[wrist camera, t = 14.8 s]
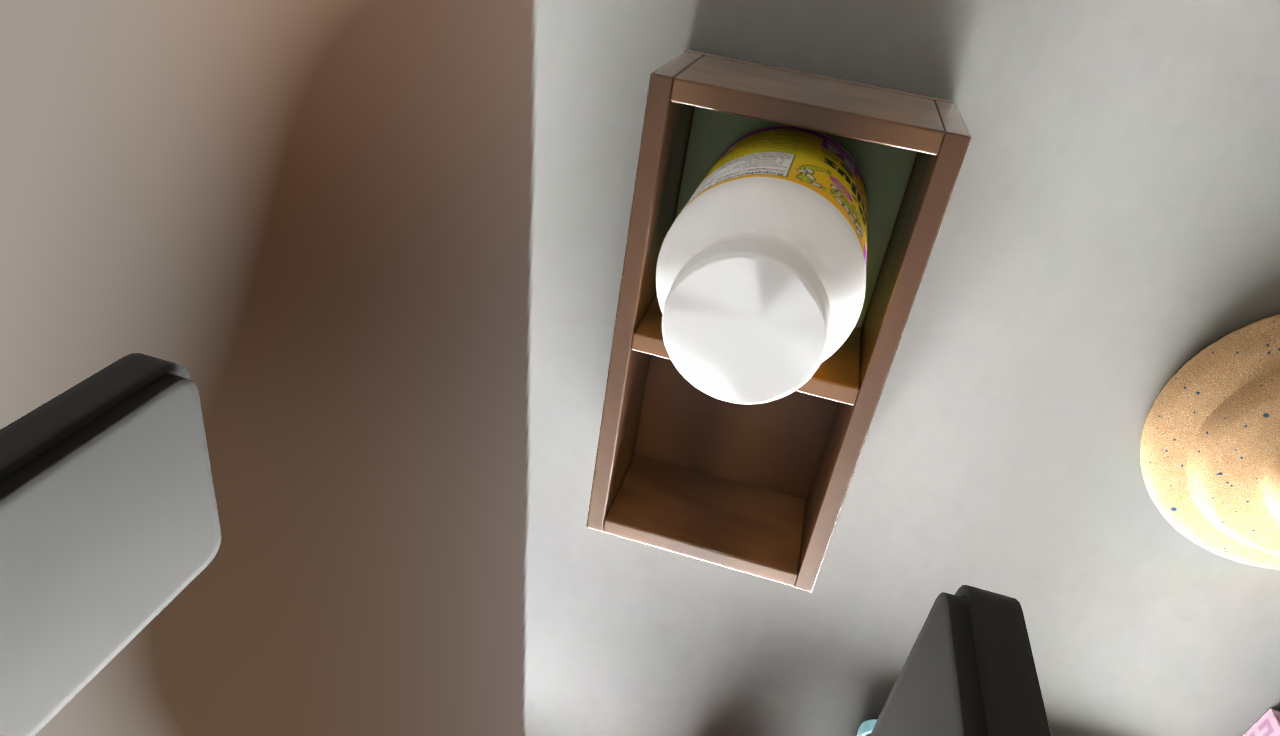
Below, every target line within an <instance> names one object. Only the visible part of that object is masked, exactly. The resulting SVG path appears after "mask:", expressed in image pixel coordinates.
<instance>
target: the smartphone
mask: <svg viewBox="0 0 1280 736" xmlns="http://www.w3.org/2000/svg"><path fill="white" fill-rule="evenodd" d="M877 720H878V719H873V720H867V721H865V722H863V723H862V724H861V725H860V727H859V729H858V733H857V736H870V734H871V732H872V730H873V728H874V726H875V724H876V722H877Z"/></svg>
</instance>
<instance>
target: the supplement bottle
mask: <svg viewBox="0 0 1280 736" xmlns="http://www.w3.org/2000/svg"><path fill="white" fill-rule="evenodd" d="M867 236H868V199H867V190H866V185H865V182H864V178H863V176H862V173H861V171H860V169H859V167H858V165H857V163H856V162H855V160H854V159H853V157H852V156H851V155H850V153H849V152H848V151H847V150H846V149H845V148H844V147H843V146H842V145H841V144H840V143H838V142H837V141H836V140H834V139H833V138H831V137H830V136H828V135H826V134H824V133H822V132H818V131H814V130H809V129H804V128H799V127H794V126H789V125H784V124H780V125H772V126H768V127H764V128H761V129H758V130H755V131H753V132H750V133H748V134H746V135H745V136H743V137H741V138H740V139H738V140H737V141H735V142H734V143H733V144H732V145H731V146H730V147H728V148H727V149H726V150H725V151H724V152H723V154H722V155H721V156H720V157H719V158H718V159H717V161H716V162H715V163H714V165H713V166H712V168H711V169H710V171H709V172H708V173H707V175H706V176H705V178H704V179H703V181H702V182H701V184H700V185H699V187H698V188H697V189H696V191H695V193H694V194H693V195H692V197H691V198H690V200H689V201H688V203H687V204H686V206H685V207H684V208H683V210H682V211H681V213H680V214H679V215H678V217H677V218H676V220H675V221H674V223H673V224H672V226H671V228H670V229H669V231H668V233H667V235H666V237H665V239H664V241H663V243H662V246H661V249H660V252H659V256H658V261H657V266H656V291H657V297H658V302H659V305H660V309H661V312H662V335H663V340H664V345H665V347H666V350H667V352H668V355H669V357H670V359H671V361H672V362H673V364H674V365H675V367H676V369H677V370H678V371H679V372H680V373H681V375H682V376H683V377H684V378H685V379H686V380H687V381H689V382H690V383H691V384H692V385H693V386H695V387H696V388H698V389H699V390H701V391H702V392H704V393H706V394H708V395H710V396H712V397H714V398H717V399H720V400H723V401H727V402H732V403H738V404H760V403H766V402H770V401H774V400H777V399H780V398H782V397H784V396H787V395H789V394H791V393H792V392H794V391H795V390H797V389H798V388H800V387H801V386H802V385H804V384H805V383H806V382H807V381H808V380H809V379H810V378H811V377H812V375H813V374H814V373H815V371H816V370H817V369H818V367H819V365H820V364H821V363H822V362H823V361H824V360H826V359H827V358H829V357H830V356H831V355H832V354H833V353H834V352H835V351H837V349H838V348H839V347H840V346H841V345H842V344H843V343H844V342H845V340H846V339H847V338H848V336H849V335H850V333H851V332H852V330H853V328H854V327H855V325H856V323H857V320H858V318H859V315H860V313H861V310H862V307H863V302H864V298H865V289H866V261H867Z"/></svg>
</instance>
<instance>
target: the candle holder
mask: <svg viewBox="0 0 1280 736" xmlns="http://www.w3.org/2000/svg"><path fill="white" fill-rule="evenodd" d="M1140 462H1141V468H1142V475H1143V479H1144V481H1145V484H1146V487H1147V489H1148V492H1149V494H1150V497H1151V498H1152V500H1153V502H1154V503H1155V505H1156V506H1157V508H1158V509H1159V511H1160V512H1161V514H1162V515H1163V516H1164V517H1165V518H1166V519H1167V520H1168V521H1169V522H1170V523H1171V524H1172V525H1173V527H1174V528H1175V529H1176V530H1177V531H1179V532H1180V533H1182V534H1183V535H1184V536H1186V537H1187V538H1189V539H1190V540H1191V541H1193V542H1194V543H1196V544H1197V545H1199V546H1201V547H1203V548H1205V549H1207V550H1209V551H1211V552H1213V553H1215V554H1217V555H1220V556H1223V557H1225V558H1228V559H1231V560H1234V561H1237V562H1240V563H1245V564H1249V565H1254V566H1258V567H1264V568H1273V569H1280V314H1278V315H1275V316H1272V317H1268V318H1265V319H1262V320H1259V321H1256V322H1254V323H1252V324H1249V325H1247V326H1245V327H1243V328H1240V329H1238V330H1236V331H1234V332H1231V333H1229V334H1228V335H1226V336H1224V337H1223V338H1221V339H1219V340H1218V341H1216V342H1214V343H1213V344H1211V345H1209V346H1208V347H1206V348H1205V349H1203V350H1202V351H1201V352H1200V353H1198V354H1197V355H1196V356H1194V357H1193V358H1192V359H1191V360H1189V361H1188V362H1187V363H1185V365H1184V366H1183V367H1182V368H1181V369H1180V370H1179V371H1178V372H1177V373H1176V374H1175V375H1174V376H1173V377H1172V378H1171V379H1170V380H1169V381H1168V382H1167V384H1166V385H1165V387H1164V388H1163V389H1162V391H1161V392H1160V394H1159V395H1158V396H1157V398H1156V399H1155V401H1154V403H1153V405H1152V407H1151V409H1150V411H1149V413H1148V415H1147V418H1146V421H1145V425H1144V428H1143V432H1142V436H1141V448H1140Z"/></svg>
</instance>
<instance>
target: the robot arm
mask: <svg viewBox="0 0 1280 736" xmlns="http://www.w3.org/2000/svg"><path fill="white" fill-rule="evenodd" d="M220 542H221V531H220V524H219V518H218V512H217V506H216V500H215V494H214V487H213V481H212V474H211V468H210V462H209V456H208V450H207V443H206V437H205V431H204V424H203V418H202V412H201V406H200V399H199V393H198V389H197V386H196V384H195V383H194V382H193V381H192V380H190V377H189V374H188V371H187V370H186V369H185V368H184V367H183V366H181V365H179V364H176V363H173V362H169V361H165V360H162V359H158V358H155V357H151V356H148V355H144V354H140V353H136V354H130V355H127V356H125V357H123V358H121V359H119V360H118V361H116V362H114V363H113V364H111V365H109V366H108V367H106V368H104V369H102V370H101V371H99V372H97V373H96V374H94V375H92V376H91V377H89V378H87V379H86V380H84V381H82V382H81V383H79V384H77V385H75V386H74V387H72V388H70V389H69V390H67V391H65V392H64V393H62V394H60V395H59V396H57V397H55V398H53V399H52V400H50V401H48V402H47V403H45V404H43V405H42V406H40V407H38V408H36V409H35V410H33V411H32V412H30V413H28V414H27V415H25V416H23V417H21V418H20V419H18V420H17V421H15V422H13V423H11V424H9V425H8V426H6V427H4V428H3V429H1V430H0V736H34V735H35V734H36V733H37V732H39V730H40V729H41V728H43V726H45V725H46V724H47V723H48V722H49V721H50V720H51V719H52V718H53V717H54V716H55V715H56V714H57V713H58V712H59V711H60V710H61V709H62V708H63V707H64V706H65V705H66V704H67V703H68V702H69V701H70V700H71V699H72V698H73V697H74V696H75V695H76V694H77V693H78V692H79V691H80V690H81V689H82V688H83V687H84V686H85V685H86V684H87V683H88V682H89V681H90V680H91V679H92V678H93V677H94V676H95V675H96V674H97V673H99V671H100V670H102V668H104V667H105V665H107V664H108V663H109V662H110V661H111V660H112V659H113V658H114V657H115V656H116V655H117V654H118V653H119V652H120V651H121V650H122V649H123V648H124V647H125V646H126V645H127V644H128V643H129V642H130V641H131V640H132V639H133V638H134V637H135V636H136V635H137V634H138V633H139V632H140V631H141V630H142V629H143V628H144V627H145V626H146V625H147V624H148V623H149V622H150V621H151V620H152V619H153V618H154V617H155V616H156V615H157V614H158V613H160V612H161V611H162V610H163V609H164V608H165V607H166V606H167V605H168V604H169V602H170V601H172V600H173V599H174V598H175V597H176V596H177V595H178V594H179V593H180V592H181V591H182V590H183V589H184V588H185V587H186V586H187V585H188V584H189V583H190V582H191V581H192V580H193V579H194V578H195V577H196V576H197V575H198V574H199V573H200V572H201V571H202V570H203V569H204V568H205V567H206V566H207V565H208V564H209V563H210V562H211V561H212V559H213V558H214V557H215V555H216V553H217V551H218V548H219V546H220ZM870 736H1051V734H1050V730H1049V725H1048V721H1047V717H1046V712H1045V708H1044V703H1043V699H1042V695H1041V690H1040V686H1039V681H1038V677H1037V673H1036V668H1035V664H1034V659H1033V655H1032V651H1031V646H1030V642H1029V637H1028V633H1027V629H1026V624H1025V620H1024V615H1023V611H1022V608H1021V605H1020V603H1019V602H1018V601H1017V600H1016V599H1014V598H1011V597H1007V596H1003V595H1000V594H996V593H993V592H989V591H986V590H982V589H978V588H975V587H971V586H968V585H962V586H961V587H960V588H959V589H958V591H957V592H956V594H955V595H951V594H948V593H941V594H940V595H939V596H938V597H937V599H936V601H935V603H934V605H933V607H932V609H931V611H930V613H929V615H928V617H927V619H926V621H925V623H924V625H923V627H922V629H921V632H920V634H919V636H918V638H917V640H916V642H915V644H914V646H913V648H912V650H911V652H910V654H909V656H908V658H907V660H906V662H905V664H904V666H903V669H902V671H901V673H900V675H899V677H898V679H897V681H896V683H895V685H894V687H893V689H892V691H891V693H890V695H889V697H888V699H887V701H886V703H885V706H884V708H883V710H882V712H881V714H880V716H879V718H878V720H877V722H876V724H875V726H874V728H873V730H872V732H871V734H870Z"/></svg>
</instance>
